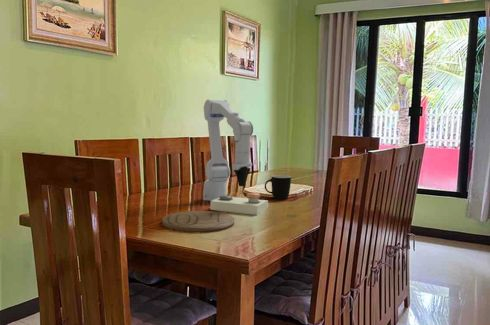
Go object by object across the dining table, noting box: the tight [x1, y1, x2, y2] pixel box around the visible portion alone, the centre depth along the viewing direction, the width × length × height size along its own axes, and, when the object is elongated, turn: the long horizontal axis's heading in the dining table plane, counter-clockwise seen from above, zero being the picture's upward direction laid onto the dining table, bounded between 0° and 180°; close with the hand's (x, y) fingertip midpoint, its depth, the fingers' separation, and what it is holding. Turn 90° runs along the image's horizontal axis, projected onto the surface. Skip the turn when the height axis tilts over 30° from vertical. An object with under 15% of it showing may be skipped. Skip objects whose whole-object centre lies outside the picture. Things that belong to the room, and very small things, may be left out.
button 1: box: [220, 194, 233, 201], centre depth 180 cm, size 5×5×4 cm
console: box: [210, 196, 269, 216], centre depth 178 cm, size 20×12×4 cm, turn 68°
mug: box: [264, 174, 292, 200], centre depth 204 cm, size 12×9×10 cm
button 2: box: [246, 192, 261, 204], centre depth 175 cm, size 5×5×4 cm
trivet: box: [161, 210, 235, 234], centre depth 155 cm, size 25×25×2 cm
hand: (241, 186), depth 177 cm, fingers closed
